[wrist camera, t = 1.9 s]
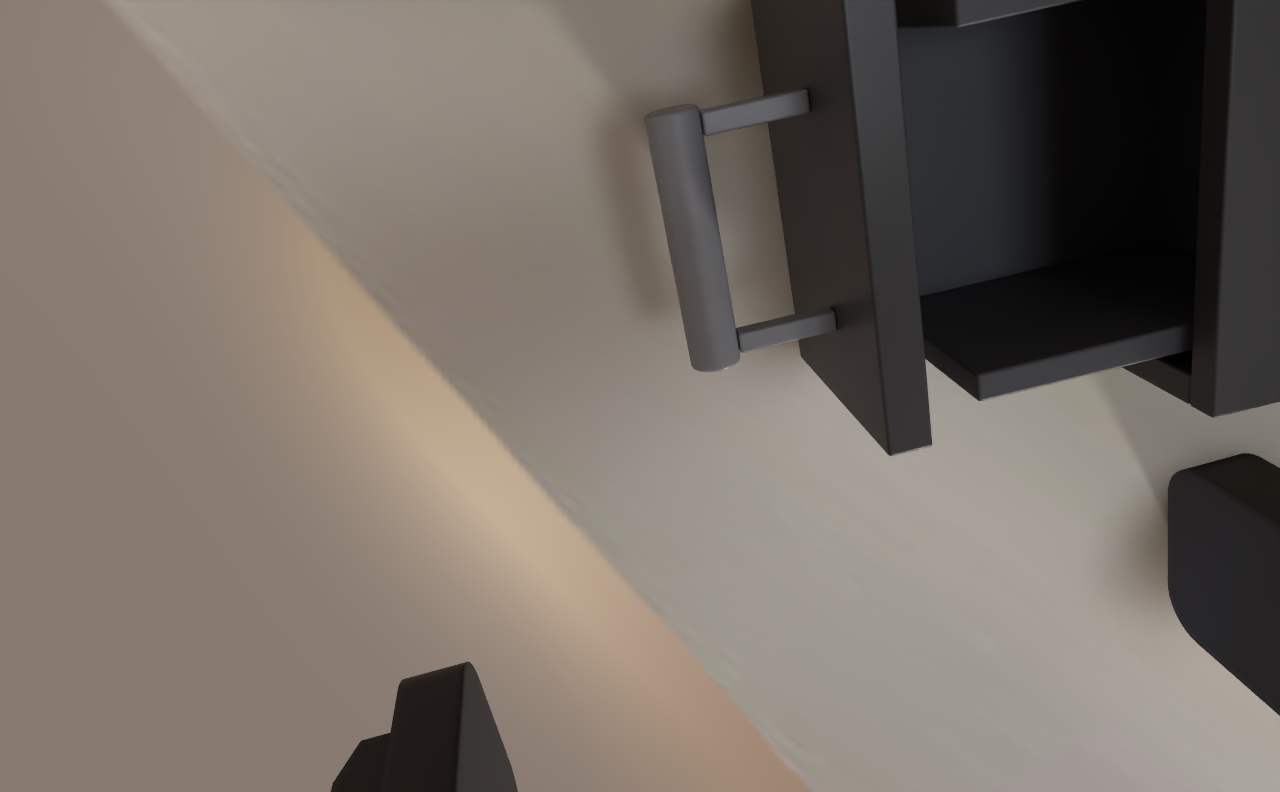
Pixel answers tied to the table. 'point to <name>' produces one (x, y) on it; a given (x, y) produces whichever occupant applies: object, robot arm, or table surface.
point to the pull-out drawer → (956, 195)
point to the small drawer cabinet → (1234, 220)
